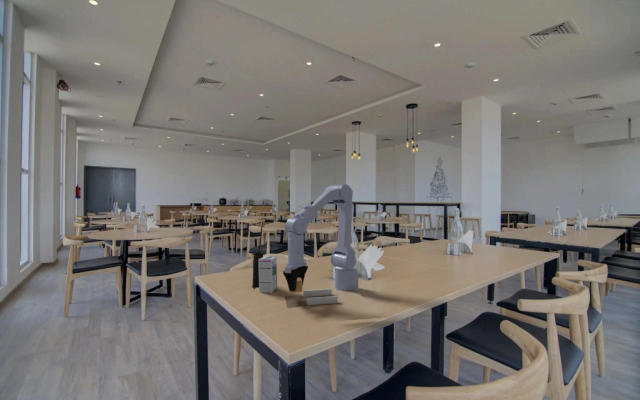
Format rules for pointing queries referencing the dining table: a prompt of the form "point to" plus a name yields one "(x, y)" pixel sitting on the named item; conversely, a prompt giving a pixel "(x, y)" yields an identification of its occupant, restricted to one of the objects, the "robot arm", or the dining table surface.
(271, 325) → the dining table surface
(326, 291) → the trough walls
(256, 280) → the butter churn
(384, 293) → the dining table surface
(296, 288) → the block
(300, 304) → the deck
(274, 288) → the syrup box
